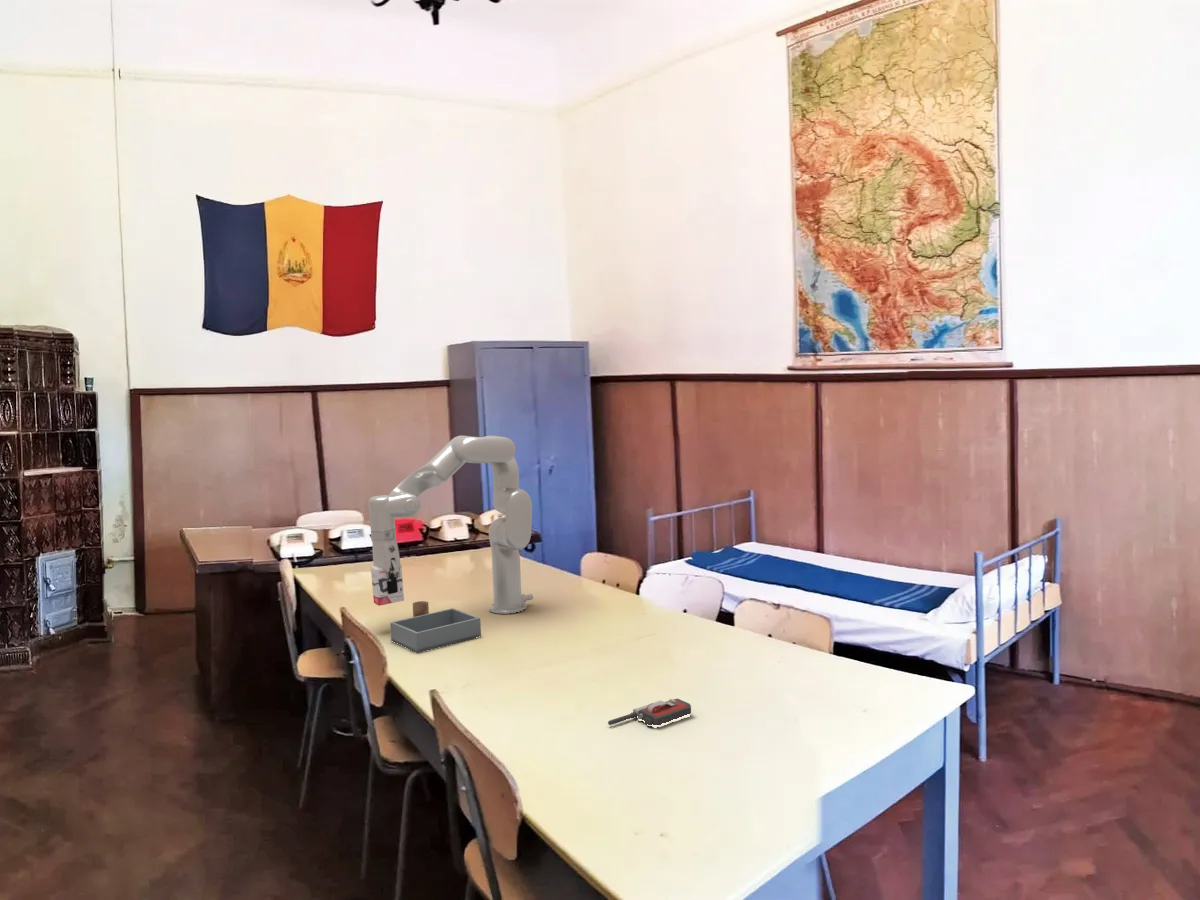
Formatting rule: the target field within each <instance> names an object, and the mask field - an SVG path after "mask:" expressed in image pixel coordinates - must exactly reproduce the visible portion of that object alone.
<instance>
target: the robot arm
mask: <svg viewBox="0 0 1200 900" xmlns="http://www.w3.org/2000/svg"><path fill="white" fill-rule="evenodd" d="M516 450H517V449H516V445H515V443H514V441H512V439H511V438H508V437H507V436H498V435H486V436H483V437H482V436H469V435H458V436H455V437H453V438H452V439H451V440H450V441H448V442H447V444H445V445H444V446H443V447H442V448H441V449H440V450H439V451H438V452H437V453H436V454H435V455H434V456H433V457H432V458H430V460H429V461H428V462H427V463H426V464H424V465H423V466H421V467H419V468H418V469H416V470H415V471H414V472H412V473H411V474H409V475H408V476H406V477H405V478H404V479H403V480H401V482H400V483H399V484H397V485H396V487H394V488H393V490H392V491H390V493H389V494H388V495H385V494H383V495H382V494H381V495H375V496H371V497H370V498H369V499H368V501H367V503H368V513H369V514H368V515H369V524H370V525H369V527H370V536H371V537H370V538H371V542H372V563H373V566H378V567H380V568H383V570H384V572H386V574H387V578H388V581H387V589H388V594H392V593H397V592H398V587H397V579H398V578H397V577H398V574H399V570H400V569H401V567H402V565H401V558H400V552H399V545H398V542H397V534H396V533H397V532H396V522H395V521H396V518H410V517H413V516H415V515H416V514H418V512H419V511H420V509H421V501H420V499H419V498H418V497H419V496H421V494H423V493H425V492H426V491H427V490H430V489H432V488H435V487H439V486H441V485H443V484H445V483H446V482H448V480H450V479H451V477H452V476H454V475H455V474H456V472H458V470H460V469H461V468H462V467H463V465H465V464H466V463H470V464H490V466H491V469H492V474H493V491H492V492H493V495H492V505H493V507H494V510H496V511H497V512H498V513H499V514H503V515H505V517H499V518H496V519H495V520H493V521H492V522H491V524H490V526H489V529H488V538H489V540H488V541H489V545H490V549H491V563H492V564H491V565H492V568H491V569H492V591H493V604H490V605H489V607H488V608H489V611H490V612H491V613H494V614H500V615H509V614H510V613H511V614H517V613H516V612H518V613H521V612H524V611H525V610H526V609H527V604H526V603H525V602H527V601H532V600H533V599H534V594H532V593H530V594H524V593H522V578H521V572H522V571H521V555H520V550H524V549H525V548H526V547H527V546H528V545H529V543H530V540H531V538H532V537H531V536H532V526H533V525H532V524H533V523H532V521H533V520H532V519H533V503H532V498H531V497H530V495H529V493H528V492H527V491H525V490H524V489H522V488H520V476H519V473H520V472H519V466H518V462H517V460H516V458H515V454H516ZM389 569H393V570H392V571H390V570H389ZM390 573H393V574H391V576H390ZM524 609H525V610H524ZM523 610H524V611H523ZM520 611H521V612H520Z"/></svg>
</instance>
